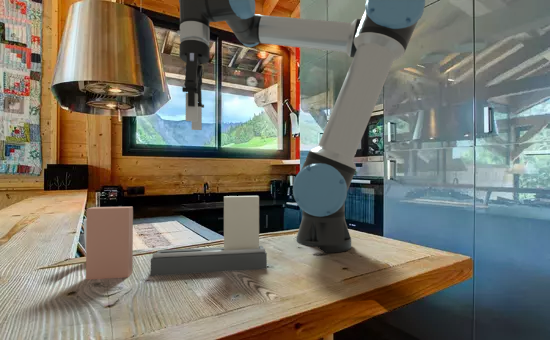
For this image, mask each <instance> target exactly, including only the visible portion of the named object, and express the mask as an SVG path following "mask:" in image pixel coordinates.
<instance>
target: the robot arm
mask: <svg viewBox="0 0 550 340" xmlns="http://www.w3.org/2000/svg"><path fill="white" fill-rule="evenodd" d="M178 3H179V30H177V31H176V32H177V33H176V34H177V35H179V42H180V43H179V56H178V57H179V58H180V60H181V61H182V62H184V63H185V76H184V77H185V79H184V86H182V88H181V89H182V93H185V122H191V130H192V131H202V127H203V126H202V124H203V123H202V120H203V119H202V118H203V117H202V116H203V115H202V114H203V113H202V111H203V108H205V104H203V100H202V99H203V97H202V85H203V73H204V71H203V70H204V69H203V64H207V63H209V61H210V25H211V24H210V23H219V22H225V23H226V24H227V26H228V27H229V28H230V30H231V31H232V33H233V34H234V35H235V37H236V39H237V40H238V41H239V42H240V43H242V44H243V46H245V47H248V48H252V47H255V46H257V45H258V46H259V44H266V45H274V46H283V47H291V48H292V47H293V48H301V49H311V50H320V51H327V52H328V51H329V52H337V53H338V52H339V53H345V54H346V55H347V56H348V57H349V58H352V61H351V63H350V66H349V68H348V70H347V73H346V76H345V79H344V81H343V83H342V84H341V85H342V86H341V87H340V88H341V89H340V91H339V93H338V95H337V99H336V100H335V103H334V105H333V108H332V110H331V113H330V116H329V118H328V120H327V123H326V126H325V128H324V131H323V133H322V135H321V138H320V140H319V143H318V145H317V146H316V147H313V148H312V149H309V151H308V153H307V156H306V158H305V160H304V162H303V165H302V167H301V169H300V170H299V172H297V174H296V175H295V178H294V180H293V184H292V193H293V194H292V195H293V198H294V201H295V202H296V204H297V206H298V207H299V208H300V209H301V210H302V218H301V222H300V225H299V228H298V232H297V235H296V237H295V238H296V239H295V240H296V243H298V244H300V245H303V246H306V247H313V248H317V249H319V250H320V251H322V252H323V253H328V254H329V253H341V252H346V251H349V250H351V249H352V237H351V234H350V231H349V229H348V225H347V222H346V217H345V215H346V214H345V212H346V210H345V207H346V206H345V203H346V200H347V195H348V190H349V188H350V185H351V183H352V182H353V181H352V180H353V178H354V176H355V174H356V171H357V166H356V164H355V161H354V157H355V156H356V153H357V150H358V148H359V146H360V143H361V140H362V139H363V137H364V134H365V131H366V129H367V126H368V124H369V121H370V119H371V116H372V114H373V113H374V112H373V111H374V109H375V106H376V104H377V102H378V100H379V97H380V95H381V93H382V91H383V88H384V85H385V82H386V81H387V78H388V75H389V73H390V71H391V69H392V66H393V64H394V62H395V61H397V60H399V59H401V58H403V56H404V55H405V52H406V50H407V48H408V46H409V43H410V40H411V38H412V35H413V34H414V32H415V31H414V30H415V29H416V27H417V24H418V21H420V19H421V17H422V16H423V14H424V12H425V11H424V10H425V6H426V0H365V9H364V13H363V15H362V17H361V18H355V19H354V20H353V21H350V22H347V21H334V20H333V21H332V20H321V19H312V18H309V19H308V18H297V17H286V16H276V15H275V16H274V15H263V14H256V0H178Z"/></svg>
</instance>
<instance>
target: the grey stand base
mask: <svg viewBox="0 0 550 340" xmlns="http://www.w3.org/2000/svg"><path fill="white" fill-rule="evenodd" d="M267 254H268V253H267V252H266V248H264V246H263V245H259V249H240V250H224V246H223V247H222V246H221V247H220V246H219V247H202V248H201V247H200V248H199V247H198V248H183V249H182V248H179V249H158V250H157V251H156V252H155V253H152V257H151V258H150V276H151V277H152V276H168V275H169V276H170V275H189V274H205V273H221V272H235V271H252V270H267V268H268V264H267V263H268V261H267V260H268V258H267V256H268V255H267Z"/></svg>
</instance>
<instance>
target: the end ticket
mask: <svg viewBox="0 0 550 340" xmlns="http://www.w3.org/2000/svg"><path fill="white" fill-rule="evenodd" d="M86 218H87V220H86V252H85V259H86V260H85V280H103V279H105V280H107V279H118V278H119V279H121V278H122V279H124V278H130V276H132V274H133V265H134V264H133V262H134V261H133V258H134V257H133V255H134V254H133V251H134V250H133V248H134V246H133V245H134V244H133V243H134V242H133V241H134V240H133V239H134V236H133V235H134V230H133V229H134V222H133V221H134V207H133V206H95V207H94V206H93V207H89V208H86Z"/></svg>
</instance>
